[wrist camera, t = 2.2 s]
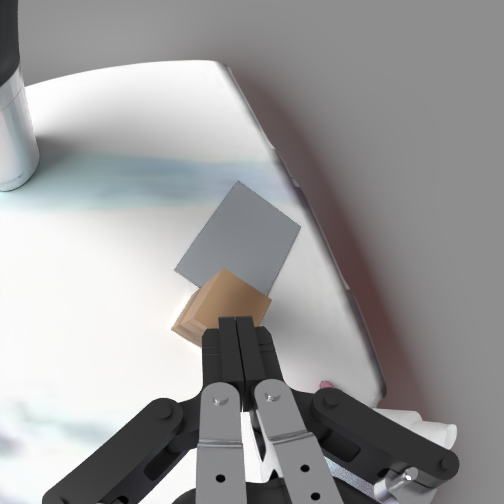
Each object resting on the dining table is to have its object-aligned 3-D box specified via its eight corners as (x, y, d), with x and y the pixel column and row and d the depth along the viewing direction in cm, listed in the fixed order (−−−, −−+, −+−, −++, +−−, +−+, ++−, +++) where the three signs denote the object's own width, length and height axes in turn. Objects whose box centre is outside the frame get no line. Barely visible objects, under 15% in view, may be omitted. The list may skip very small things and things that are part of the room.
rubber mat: (252, 321, 38) (253, 321, 37) (174, 270, 36) (174, 269, 35) (299, 227, 46) (300, 226, 45) (237, 181, 44) (238, 180, 44)
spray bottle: (342, 451, 36) (436, 473, 20) (337, 415, 38) (436, 427, 22) (371, 435, 39) (462, 445, 23) (368, 400, 41) (462, 402, 25)
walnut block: (170, 329, 33) (192, 318, 22) (191, 295, 35) (223, 267, 24) (205, 351, 34) (245, 350, 23) (224, 317, 36) (271, 299, 25)
